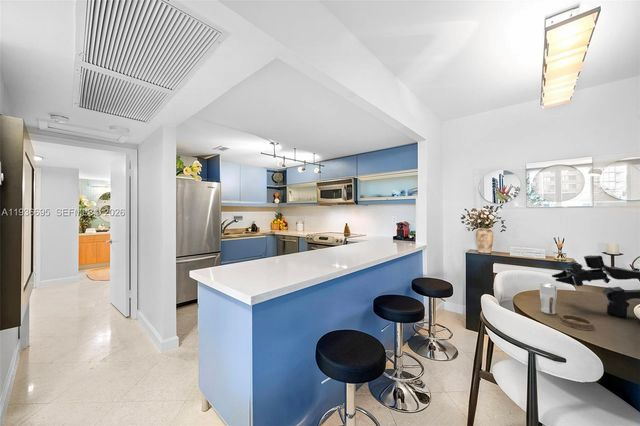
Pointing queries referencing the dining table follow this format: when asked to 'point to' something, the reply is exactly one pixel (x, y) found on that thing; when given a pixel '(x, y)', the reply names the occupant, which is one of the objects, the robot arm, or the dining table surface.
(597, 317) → the dining table surface
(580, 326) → the faceted bowl
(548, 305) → the beer glass
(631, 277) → the robot arm
